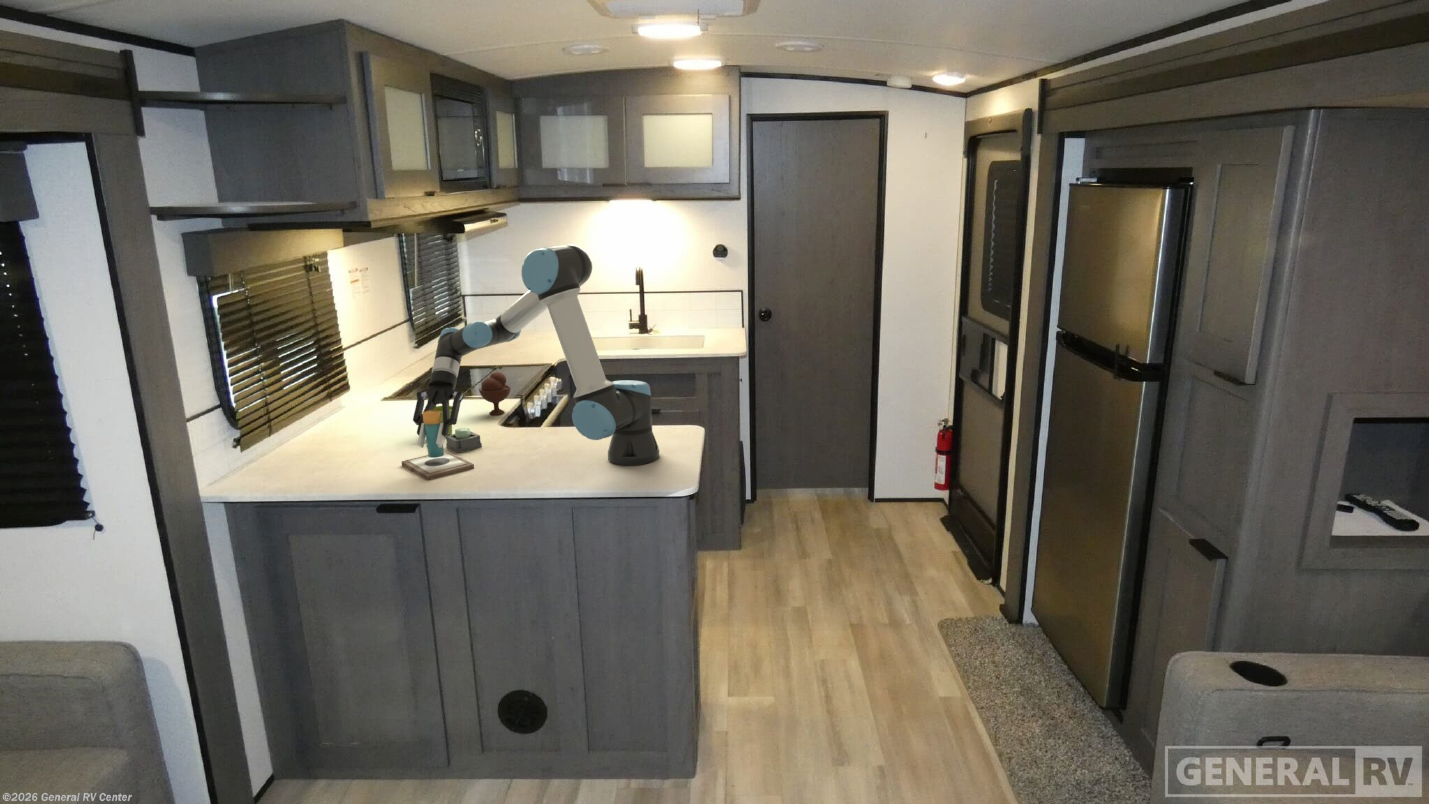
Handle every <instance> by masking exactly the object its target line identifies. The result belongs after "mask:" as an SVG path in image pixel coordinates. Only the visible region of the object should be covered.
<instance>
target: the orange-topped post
mask: <svg viewBox="0 0 1429 804" xmlns="http://www.w3.org/2000/svg"><path fill="white" fill-rule="evenodd" d="M422 413H423V422H424V424H425V432H426V437H425V441H426V448H427V449H426V450H427V455H428V457H431V458H436V457H441V456H443V455H444V451H445V450H444V449H445V448H444V443H443V444H442V447H438V445H437V444H436V441H437V436H438V431H439V427H440V423H441V416H440V411H439V410H428V411H425V412H422Z"/></svg>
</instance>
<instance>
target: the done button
mask: <svg viewBox="0 0 1429 804" xmlns="http://www.w3.org/2000/svg"><path fill="white" fill-rule="evenodd" d="M470 429H471V428H469V427H460V428H456V429H455V430H454V434H455V436H456V439H458V440H460V439H464V438H468V437H470Z"/></svg>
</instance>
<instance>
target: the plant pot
mask: <svg viewBox="0 0 1429 804" xmlns="http://www.w3.org/2000/svg"><path fill="white" fill-rule="evenodd" d="M452 406H453V405H449V416H451V411H452ZM433 410H439V411H440V416H441V423H443V424H444V422H443V421H442V420H443V410H442V405H436V407H435V408H434V409H433ZM452 434H453V425H450V426H449V429H448V434H447V436H449V435H452Z"/></svg>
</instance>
